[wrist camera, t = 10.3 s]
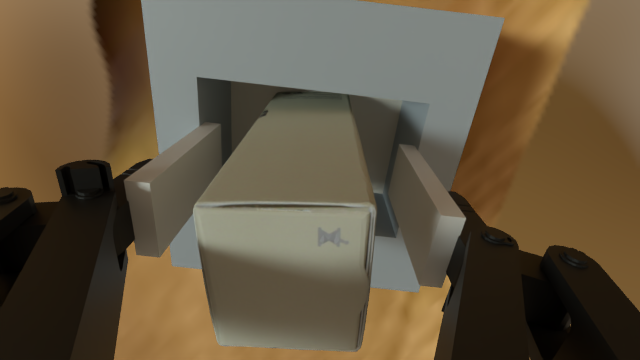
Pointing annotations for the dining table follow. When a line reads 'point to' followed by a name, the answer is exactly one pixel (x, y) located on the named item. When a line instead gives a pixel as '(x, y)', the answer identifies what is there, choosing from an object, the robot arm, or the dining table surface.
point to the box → (291, 230)
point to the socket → (323, 86)
